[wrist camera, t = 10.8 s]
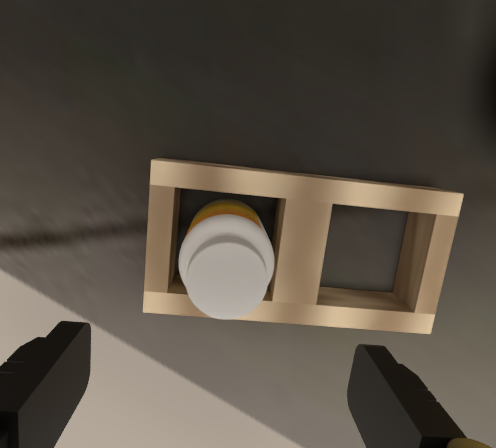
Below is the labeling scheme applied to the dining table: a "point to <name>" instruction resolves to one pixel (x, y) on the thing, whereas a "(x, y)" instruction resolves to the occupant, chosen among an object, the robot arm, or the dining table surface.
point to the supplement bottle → (226, 259)
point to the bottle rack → (308, 245)
